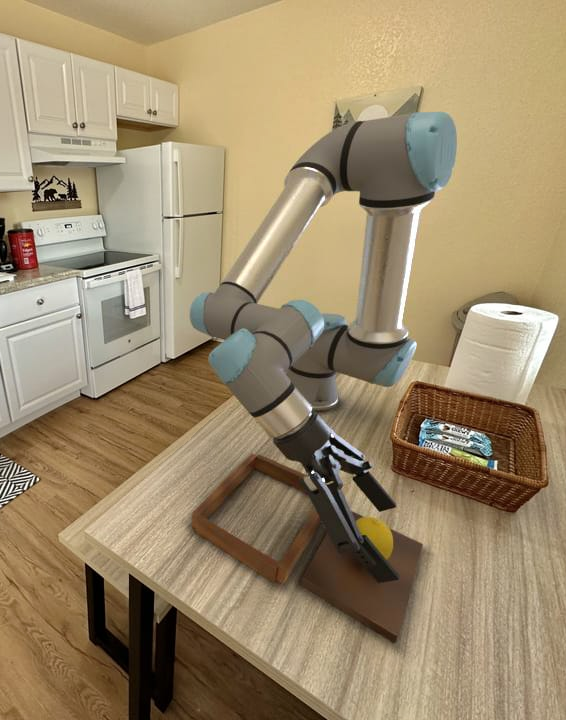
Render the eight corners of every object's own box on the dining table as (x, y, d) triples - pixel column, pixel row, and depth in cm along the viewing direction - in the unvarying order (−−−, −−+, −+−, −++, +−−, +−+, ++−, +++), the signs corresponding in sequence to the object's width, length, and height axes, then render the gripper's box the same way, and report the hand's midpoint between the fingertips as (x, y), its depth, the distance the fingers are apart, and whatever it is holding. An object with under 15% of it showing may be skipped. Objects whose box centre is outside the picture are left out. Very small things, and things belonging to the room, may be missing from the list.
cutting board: (340, 512, 68) (341, 506, 67) (420, 550, 60) (423, 543, 60) (300, 584, 56) (301, 577, 55) (394, 643, 48) (397, 636, 48)
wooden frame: (251, 463, 81) (253, 451, 79) (333, 500, 70) (336, 488, 69) (189, 528, 65) (189, 515, 64) (281, 588, 55) (284, 573, 54)
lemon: (391, 580, 54) (406, 539, 51) (349, 573, 56) (361, 533, 52) (378, 547, 59) (390, 508, 56) (339, 542, 60) (349, 503, 57)
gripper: (287, 397, 67) (366, 492, 67) (247, 486, 48) (358, 621, 47) (325, 376, 63) (410, 478, 62) (298, 465, 43) (422, 615, 42)
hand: (388, 540), depth 55 cm, fingers open, 13 cm apart
